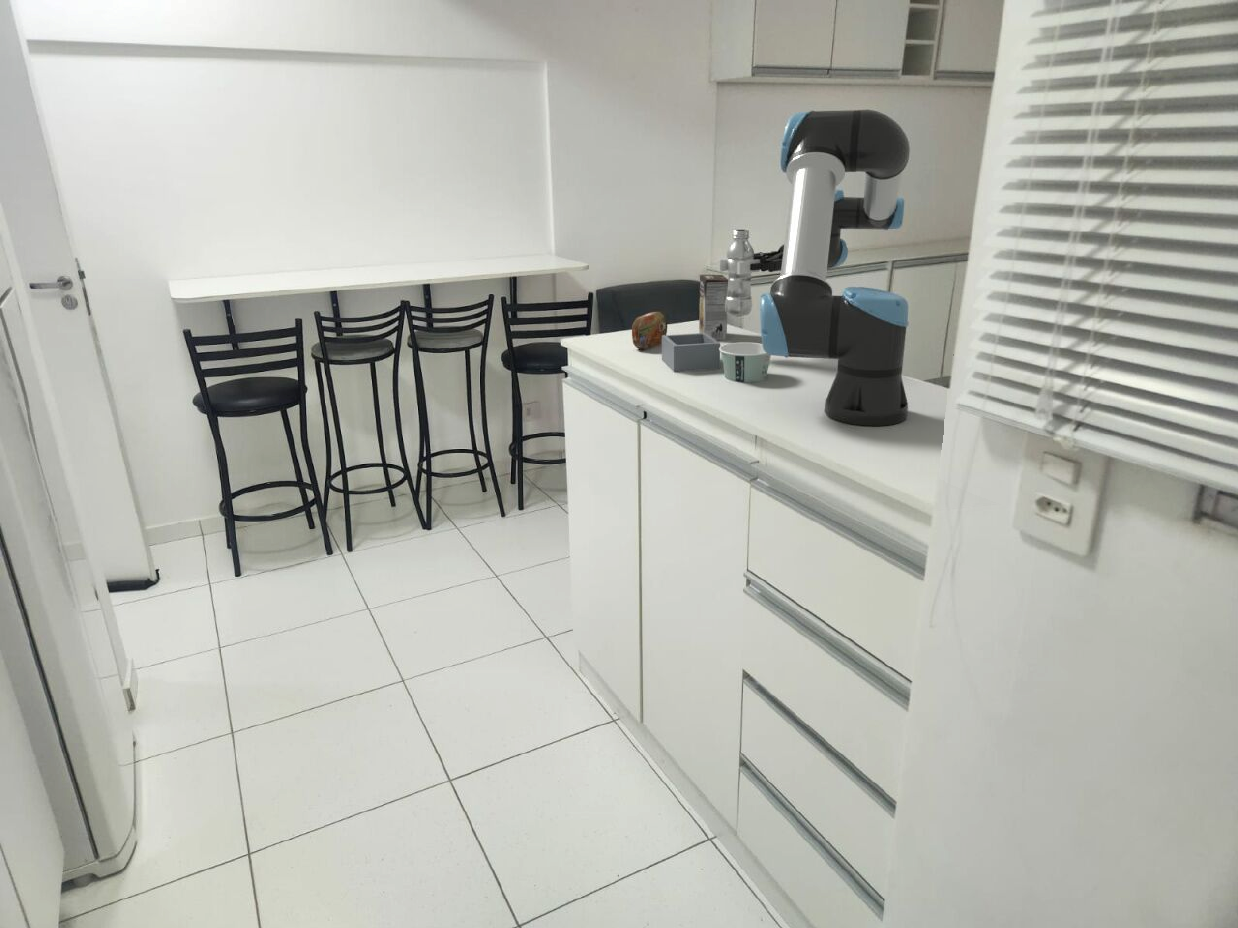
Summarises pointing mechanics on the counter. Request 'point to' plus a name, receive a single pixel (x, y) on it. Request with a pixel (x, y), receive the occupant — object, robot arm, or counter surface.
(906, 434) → the counter surface
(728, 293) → the plastic bottle
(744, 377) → the food container
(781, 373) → the counter surface
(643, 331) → the tin
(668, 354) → the bottle holder
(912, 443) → the counter surface
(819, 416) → the counter surface
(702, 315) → the coffee box
